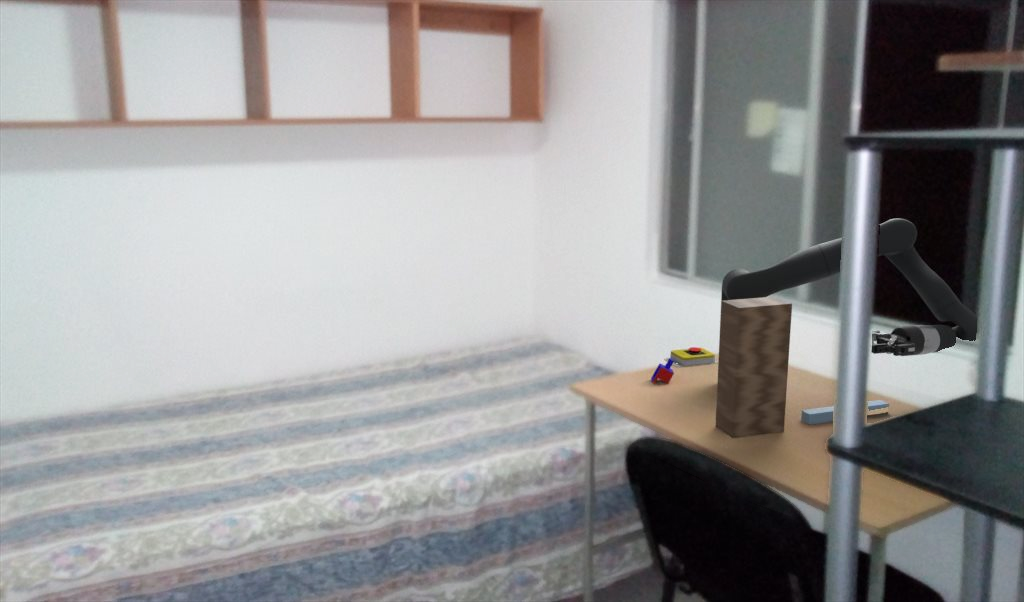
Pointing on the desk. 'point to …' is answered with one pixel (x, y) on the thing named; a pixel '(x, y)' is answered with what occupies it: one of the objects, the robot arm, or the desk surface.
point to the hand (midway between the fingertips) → (861, 344)
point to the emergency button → (691, 357)
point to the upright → (753, 366)
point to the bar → (827, 412)
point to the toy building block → (663, 372)
